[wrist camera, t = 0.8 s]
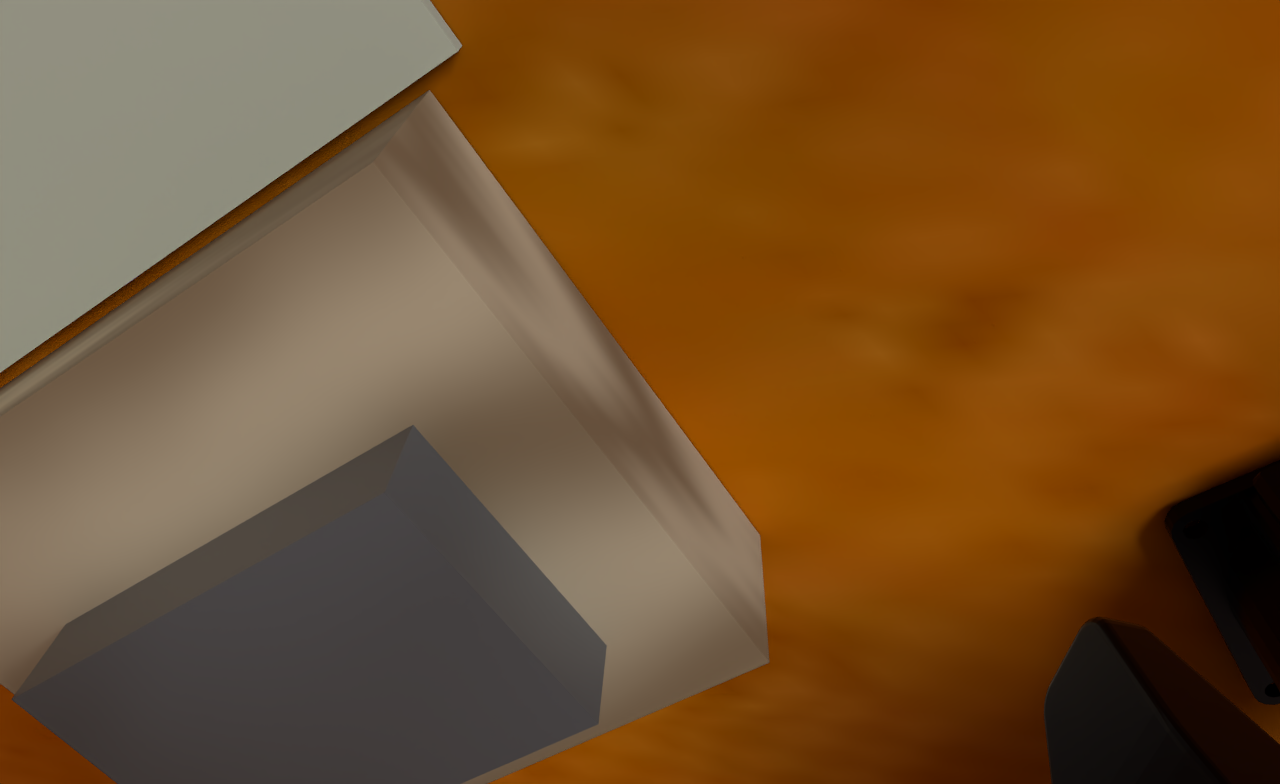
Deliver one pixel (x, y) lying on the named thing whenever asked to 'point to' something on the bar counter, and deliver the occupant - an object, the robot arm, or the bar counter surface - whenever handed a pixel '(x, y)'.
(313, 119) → the mat
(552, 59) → the bar counter surface
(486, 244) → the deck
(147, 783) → the charcoal grey slab
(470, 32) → the bar counter surface
